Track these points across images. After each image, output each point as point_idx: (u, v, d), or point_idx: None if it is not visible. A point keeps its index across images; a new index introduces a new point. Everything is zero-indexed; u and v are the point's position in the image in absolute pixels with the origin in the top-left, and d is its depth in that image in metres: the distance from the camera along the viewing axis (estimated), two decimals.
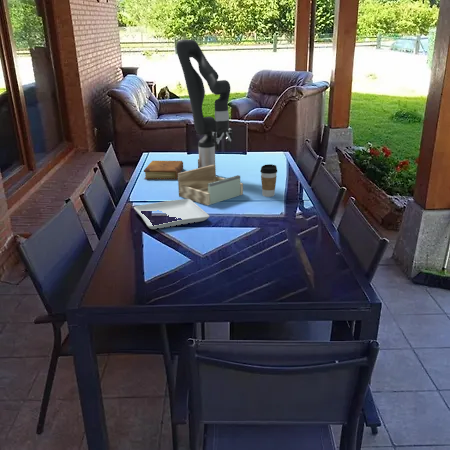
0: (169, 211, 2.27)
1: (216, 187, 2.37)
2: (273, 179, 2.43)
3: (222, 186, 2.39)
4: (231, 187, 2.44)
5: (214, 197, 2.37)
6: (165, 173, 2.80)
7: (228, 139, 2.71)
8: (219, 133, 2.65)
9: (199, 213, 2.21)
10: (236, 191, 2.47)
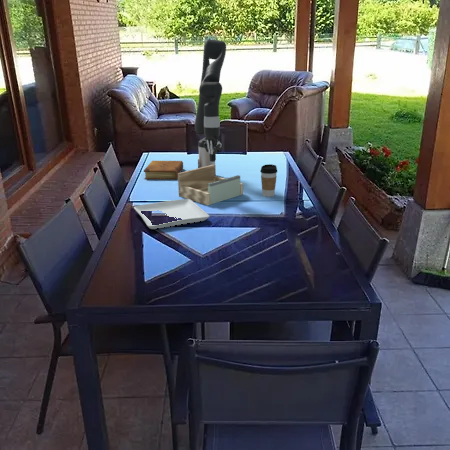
0: (169, 211, 2.27)
1: (216, 187, 2.37)
2: (273, 179, 2.43)
3: (222, 186, 2.39)
4: (231, 187, 2.44)
5: (214, 197, 2.37)
6: (165, 173, 2.80)
7: None
8: None
9: (199, 213, 2.21)
10: (236, 191, 2.47)
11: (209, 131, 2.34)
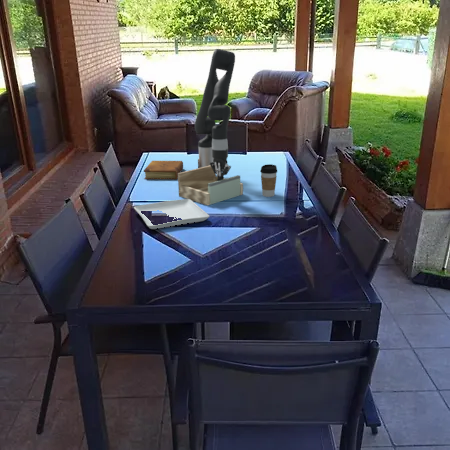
0: (169, 211, 2.27)
1: (216, 187, 2.37)
2: (273, 179, 2.43)
3: (222, 186, 2.39)
4: (231, 187, 2.44)
5: (214, 197, 2.37)
6: (165, 173, 2.80)
7: None
8: None
9: (199, 213, 2.21)
10: (236, 191, 2.47)
11: (217, 154, 2.34)
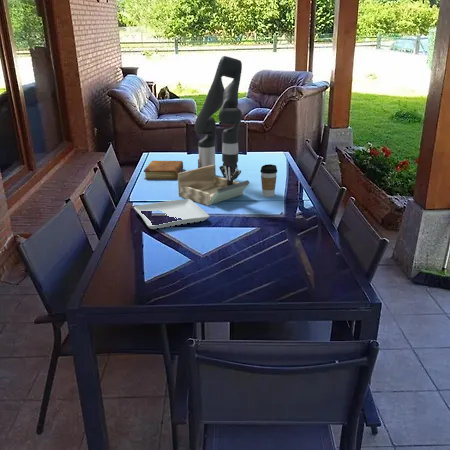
0: (169, 211, 2.27)
1: (223, 193, 2.34)
2: (273, 179, 2.43)
3: (229, 191, 2.37)
4: (236, 191, 2.42)
5: (217, 199, 2.36)
6: (165, 173, 2.80)
7: None
8: None
9: (199, 213, 2.21)
10: (238, 193, 2.46)
11: (228, 158, 2.30)
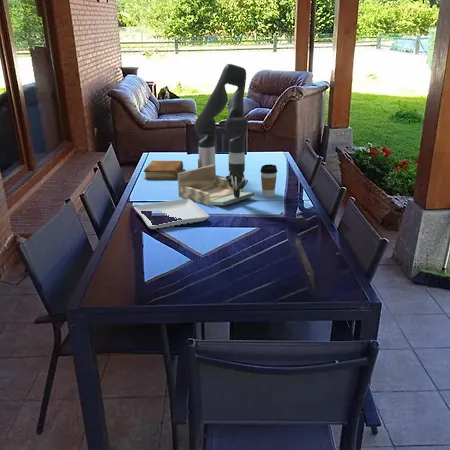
0: (169, 211, 2.27)
1: None
2: (273, 179, 2.43)
3: None
4: None
5: None
6: (165, 173, 2.80)
7: (237, 184, 2.36)
8: None
9: (199, 213, 2.21)
10: None
11: (234, 168, 2.28)
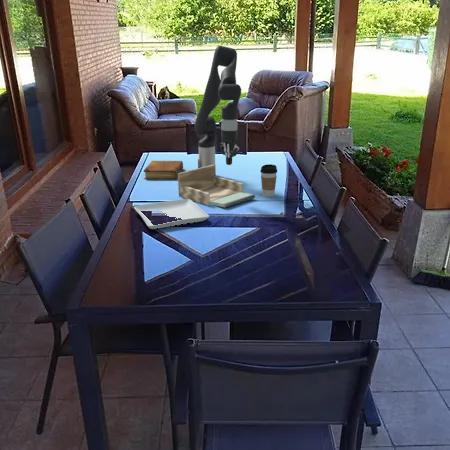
0: (169, 211, 2.27)
1: None
2: (273, 179, 2.43)
3: None
4: None
5: None
6: (165, 173, 2.80)
7: (229, 152, 2.36)
8: None
9: (199, 213, 2.21)
10: None
11: (227, 135, 2.29)
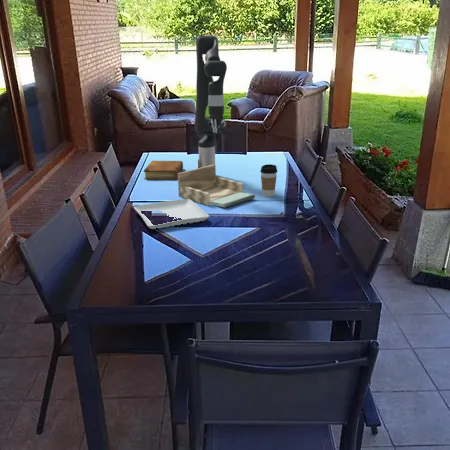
0: (169, 211, 2.27)
1: None
2: (273, 179, 2.43)
3: None
4: None
5: None
6: (165, 173, 2.80)
7: None
8: None
9: (199, 213, 2.21)
10: None
11: (214, 110, 2.37)
